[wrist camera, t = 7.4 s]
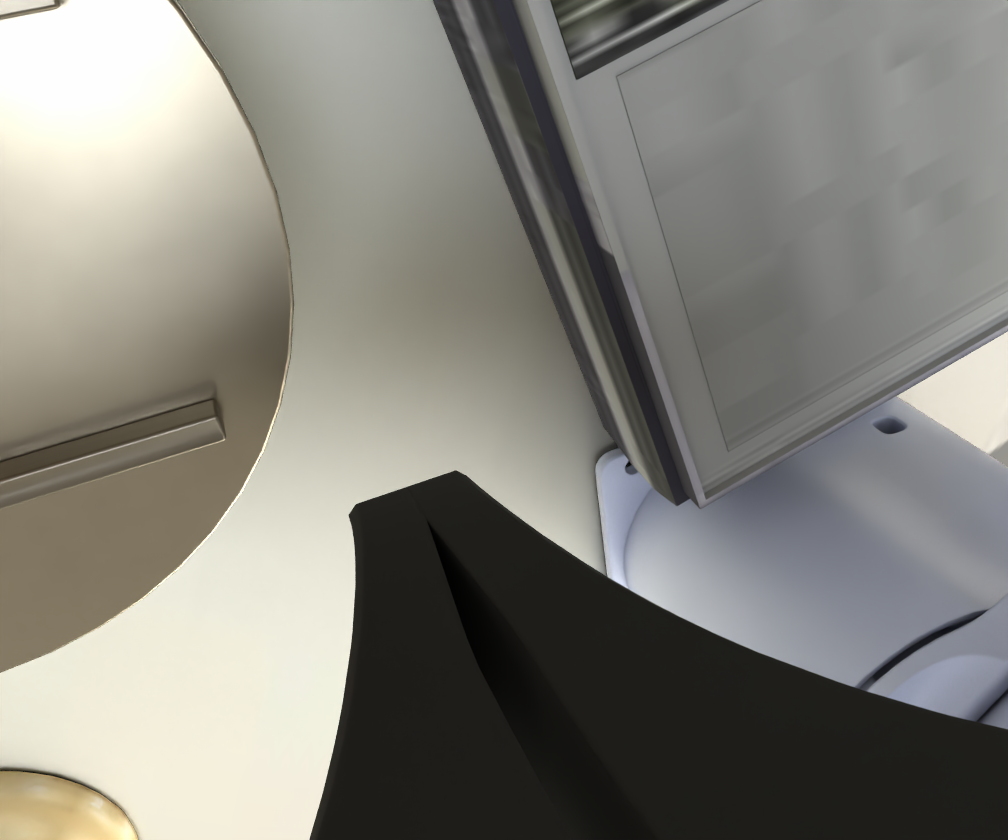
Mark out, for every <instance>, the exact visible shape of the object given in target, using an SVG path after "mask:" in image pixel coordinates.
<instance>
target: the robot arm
mask: <svg viewBox="0 0 1008 840" xmlns="http://www.w3.org/2000/svg"><path fill="white" fill-rule="evenodd" d="M628 461H629V460H628V459H627V458H626V456H625V455H624V453H623V452H622V451H621V449H620V448H617V449H614V450H611V451H609V452H607V453H605V454H604V455H603V456H602V457H601V458H600V459H599V460H598V462H597V464H596V469H595V473H596V482H597V491H598V499H599V508H600V517H601V525H602V534H603V542H604V551H605V560H606V568H607V576H605V575H603V574H602V573H600V572H599V571H597V570H595V569H594V568H592V567H591V566H589V565H587V564H586V563H584V562H583V561H581V560H580V559H578V558H577V557H575V556H574V555H572V554H571V553H569V552H568V551H566V550H565V549H563V548H562V547H560V546H559V545H557V544H556V543H554V542H553V541H551V540H550V539H548V538H547V537H545V536H544V535H542V534H541V533H539V532H538V531H536V530H535V529H534V528H532V527H531V526H529V525H528V524H527V523H525V522H524V521H523V520H521V519H520V518H519V517H517V516H516V515H515V514H513V513H512V512H511V511H509V510H508V509H507V508H505V507H504V506H503V505H501V504H500V503H499V502H498V501H496V500H495V499H494V498H492V497H491V496H490V495H489V494H488V493H486V492H485V491H484V490H483V489H481V488H480V487H479V486H478V485H477V484H475V483H474V482H473V481H472V480H471V479H470V478H468V477H467V476H466V475H464V474H462V473H460V472H458V471H453V472H450V473H447V474H444V475H441V476H438V477H435V478H432V479H429V480H426V481H423V482H420V483H417V484H414V485H411V486H408V487H406V488H403V489H400V490H397V491H394V492H391V493H388V494H385V495H382V496H379V497H376V498H373V499H370V500H367V501H364V502H361V503H358V504H356V505H355V506H354V508H353V509H352V511H351V513H350V514H349V518H350V522H351V525H352V529H353V536H354V545H355V563H356V587H355V603H354V618H353V633H352V642H351V650H350V657H349V664H348V671H347V678H346V684H345V691H344V698H343V704H342V710H341V715H340V720H339V725H338V730H337V735H336V740H335V745H334V749H333V754H332V758H331V762H330V766H329V770H328V774H327V778H326V783H325V787H324V791H323V794H322V798H321V802H320V805H319V809H318V812H317V815H316V819H315V822H314V826H313V829H312V833H311V836H310V840H1008V467H1007V466H1006V465H1004V464H1003V463H1001V462H999V461H998V460H996V459H995V458H993V457H991V456H990V455H988V454H987V453H985V452H984V451H982V450H980V449H979V448H977V447H976V446H974V445H973V444H971V443H969V442H968V441H966V440H965V439H963V438H961V437H960V436H958V435H957V434H955V433H954V432H952V431H950V430H949V429H947V428H946V427H944V426H942V425H941V424H939V423H938V422H936V421H934V420H933V419H931V418H930V417H928V416H927V415H925V414H923V413H922V412H920V411H919V410H917V409H915V408H914V407H912V406H911V405H909V404H908V403H906V402H904V401H903V400H901V399H900V398H898V397H896V396H895V397H894V398H892V399H890V400H888V401H887V402H885V403H883V404H882V405H880V406H878V407H876V408H875V409H873V410H871V411H869V412H868V413H866V414H864V415H863V416H861V417H859V418H857V419H856V420H854V421H852V422H850V423H849V424H847V425H845V426H844V427H842V428H840V429H838V430H837V431H835V432H833V433H832V434H830V435H828V436H826V437H825V438H823V439H821V440H819V441H818V442H816V443H814V444H813V445H811V446H809V447H807V448H806V449H804V450H802V451H800V452H799V453H797V454H795V455H794V456H792V457H790V458H788V459H787V460H785V461H783V462H782V463H780V464H778V465H776V466H775V467H773V468H771V469H769V470H768V471H766V472H764V473H763V474H761V475H759V476H757V477H756V478H754V479H752V480H750V481H749V482H747V483H745V484H744V485H742V486H740V487H738V488H737V489H735V490H733V491H732V492H730V493H728V494H726V495H725V496H723V497H721V498H719V499H718V500H716V501H714V502H713V503H711V504H709V505H707V506H706V507H704V508H702V509H699V507H698V506H697V505H696V504H695V503H694V502H693V501H692V500H691V499H689V500H687V501H685V502H684V503H682V504H680V505H679V506H675V505H674V504H673V503H671V502H670V501H669V500H667V499H666V498H665V497H664V496H662V495H661V494H660V493H658V492H657V491H656V490H654V488H653V487H652V486H651V485H650V484H649V483H648V482H647V481H646V480H645V478H644V477H643V476H642V475H641V474H640V473H639V472H638V471H637V470H636V468H635V467H634V466H633V465H630V466H629V467H626V464H627V463H628Z"/></svg>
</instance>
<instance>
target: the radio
mask: <svg viewBox="0 0 1008 840" xmlns="http://www.w3.org/2000/svg"><path fill="white" fill-rule="evenodd" d="M433 1H434V4H435V6H436V9H437V11H438V14H439V16H440V19H441V21H442V24H443V26H444V29H445V31H446V34H447V36H448V39H449V41H450V44H451V46H452V49H453V51H454V54H455V56H456V59H457V61H458V64H459V66H460V69H461V71H462V74H463V76H464V79H465V81H466V84H467V86H468V89H469V91H470V94H471V96H472V99H473V101H474V104H475V106H476V109H477V111H478V114H479V116H480V119H481V121H482V124H483V126H484V129H485V131H486V134H487V136H488V139H489V141H490V144H491V146H492V149H493V151H494V154H495V156H496V159H497V161H498V164H499V166H500V169H501V171H502V174H503V176H504V179H505V181H506V184H507V186H508V189H509V191H510V194H511V196H512V199H513V201H514V204H515V206H516V209H517V211H518V214H519V216H520V219H521V221H522V224H523V226H524V229H525V231H526V234H527V236H528V239H529V241H530V244H531V246H532V249H533V251H534V254H535V256H536V259H537V261H538V264H539V266H540V269H541V271H542V274H543V276H544V279H545V281H546V284H547V286H548V289H549V291H550V294H551V296H552V299H553V301H554V304H555V306H556V309H557V311H558V314H559V316H560V319H561V321H562V324H563V326H564V329H565V331H566V334H567V336H568V339H569V341H570V344H571V346H572V349H573V351H574V354H575V356H576V359H577V361H578V364H579V366H580V369H581V371H582V374H583V376H584V379H585V381H586V384H587V386H588V389H589V391H590V394H591V396H592V399H593V401H594V404H595V406H596V409H597V411H598V414H599V416H600V419H601V421H602V424H603V426H604V428H605V429H606V430H607V432H608V433H609V435H610V436H611V437H612V439H613V440H614V441H615V443H616V444H617V445H618V447H619V448H620V449H621V451H622V452H623V453H624V455H625V456H626V458H627V459H628V460H629V462H630V463H631V464H632V465H633V466H634V467H635V468H636V470H637V471H638V472H639V473H640V474H641V475H642V476H643V477H644V478H645V480H646V481H647V482H648V483H649V484H650V485H651V486H652V487H653V488H654V490H656V491H657V492H658V493H660V494H661V495H662V496H664V497H665V498H666V499H667V500H669V501H670V502H671V503H673V504H674V505H675V506H679V505H680V504H682V503H684V502H685V501H687V500H689V499H691V500H692V501H693V502H694V503H695V504H696V505H697V506H698V507H699V509H702V508H704V507H706V506H707V505H709V504H711V503H713V502H714V501H716V500H718V499H719V498H721V497H723V496H725V495H726V494H728V493H730V492H732V491H733V490H735V489H737V488H738V487H740V486H742V485H744V484H745V483H747V482H749V481H750V480H752V479H754V478H756V477H757V476H759V475H761V474H763V473H764V472H766V471H768V470H769V469H771V468H773V467H775V466H776V465H778V464H780V463H782V462H783V461H785V460H787V459H788V458H790V457H792V456H794V455H795V454H797V453H799V452H800V451H802V450H804V449H806V448H807V447H809V446H811V445H813V444H814V443H816V442H818V441H819V440H821V439H823V438H825V437H826V436H828V435H830V434H832V433H833V432H835V431H837V430H838V429H840V428H842V427H844V426H845V425H847V424H849V423H850V422H852V421H854V420H856V419H857V418H859V417H861V416H863V415H864V414H866V413H868V412H869V411H871V410H873V409H875V408H876V407H878V406H880V405H882V404H883V403H885V402H887V401H888V400H890V399H892V398H894V397H895V396H897V395H899V394H900V393H902V392H904V391H906V390H907V389H909V388H911V387H913V386H914V385H916V384H918V383H919V382H921V381H923V380H925V379H926V378H928V377H930V376H932V375H933V374H935V373H937V372H938V371H940V370H942V369H944V368H945V367H947V366H949V365H951V364H952V363H954V362H956V361H957V360H959V359H961V358H963V357H964V356H966V355H968V354H969V353H971V352H973V351H975V350H976V349H978V348H980V347H982V346H983V345H985V344H987V343H988V342H990V341H992V340H994V339H995V338H997V337H999V336H1001V335H1002V334H1004V333H1006V332H1007V331H1008V0H433Z"/></svg>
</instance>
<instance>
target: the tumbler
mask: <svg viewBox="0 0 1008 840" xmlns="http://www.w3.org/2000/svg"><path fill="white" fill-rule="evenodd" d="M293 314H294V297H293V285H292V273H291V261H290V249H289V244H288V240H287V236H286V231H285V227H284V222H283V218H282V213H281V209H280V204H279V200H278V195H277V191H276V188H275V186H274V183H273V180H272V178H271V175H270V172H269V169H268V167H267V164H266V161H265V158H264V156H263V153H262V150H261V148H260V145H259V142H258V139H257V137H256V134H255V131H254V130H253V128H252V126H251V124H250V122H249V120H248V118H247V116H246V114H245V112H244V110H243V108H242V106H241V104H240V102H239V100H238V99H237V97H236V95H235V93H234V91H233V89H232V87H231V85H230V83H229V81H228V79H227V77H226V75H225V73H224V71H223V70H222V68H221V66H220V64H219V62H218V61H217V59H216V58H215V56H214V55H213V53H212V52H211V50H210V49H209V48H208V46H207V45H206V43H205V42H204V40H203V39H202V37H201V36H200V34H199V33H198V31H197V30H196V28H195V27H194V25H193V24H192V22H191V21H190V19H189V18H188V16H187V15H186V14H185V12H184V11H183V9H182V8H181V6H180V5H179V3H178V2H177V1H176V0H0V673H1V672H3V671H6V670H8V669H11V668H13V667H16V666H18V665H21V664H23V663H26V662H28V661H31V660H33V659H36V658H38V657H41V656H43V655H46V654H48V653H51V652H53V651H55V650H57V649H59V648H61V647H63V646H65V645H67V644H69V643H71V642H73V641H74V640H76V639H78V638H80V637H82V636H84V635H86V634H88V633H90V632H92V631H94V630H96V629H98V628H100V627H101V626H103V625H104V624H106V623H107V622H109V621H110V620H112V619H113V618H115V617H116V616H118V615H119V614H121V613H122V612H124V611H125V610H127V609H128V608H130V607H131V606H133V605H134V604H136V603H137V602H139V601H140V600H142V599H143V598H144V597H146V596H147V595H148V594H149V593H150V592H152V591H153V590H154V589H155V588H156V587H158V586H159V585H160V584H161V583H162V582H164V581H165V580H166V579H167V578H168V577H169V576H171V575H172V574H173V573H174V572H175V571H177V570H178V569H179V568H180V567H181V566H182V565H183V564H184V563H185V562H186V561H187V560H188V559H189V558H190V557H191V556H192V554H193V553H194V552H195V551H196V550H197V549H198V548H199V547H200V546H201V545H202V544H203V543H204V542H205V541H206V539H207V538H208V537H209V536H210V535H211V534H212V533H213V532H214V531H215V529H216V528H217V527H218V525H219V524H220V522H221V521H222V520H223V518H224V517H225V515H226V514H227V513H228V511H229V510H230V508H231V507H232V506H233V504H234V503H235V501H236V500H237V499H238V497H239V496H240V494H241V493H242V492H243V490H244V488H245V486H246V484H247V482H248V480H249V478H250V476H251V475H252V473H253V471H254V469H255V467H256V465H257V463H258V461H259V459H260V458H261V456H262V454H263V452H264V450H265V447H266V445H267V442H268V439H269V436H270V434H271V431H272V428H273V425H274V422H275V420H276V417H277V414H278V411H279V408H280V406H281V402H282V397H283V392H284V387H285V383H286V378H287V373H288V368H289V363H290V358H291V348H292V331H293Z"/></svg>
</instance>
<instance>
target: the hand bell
mask: <svg viewBox="0 0 1008 840" xmlns="http://www.w3.org/2000/svg"><path fill="white" fill-rule="evenodd" d="M0 840H138V838H137V834H136V832H135V830H134V828H133V826H132V824H131V823H130V821H129V820H128V818H127V816H126V815H125V813H124V812H123V811H122V810H121V809H120V808H119V807H118V806H117V805H115V804H114V803H112V802H110V801H109V800H108V799H107V798H106V797H104V796H103V795H102V794H100V793H97V792H95V791H93V790H91V789H89V788H87V787H85V786H83V785H80V784H77V783H74V782H71V781H68V780H65V779H61V778H58V777H54V776H49V775H43V774H36V773H28V772H20V771H0Z"/></svg>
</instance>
